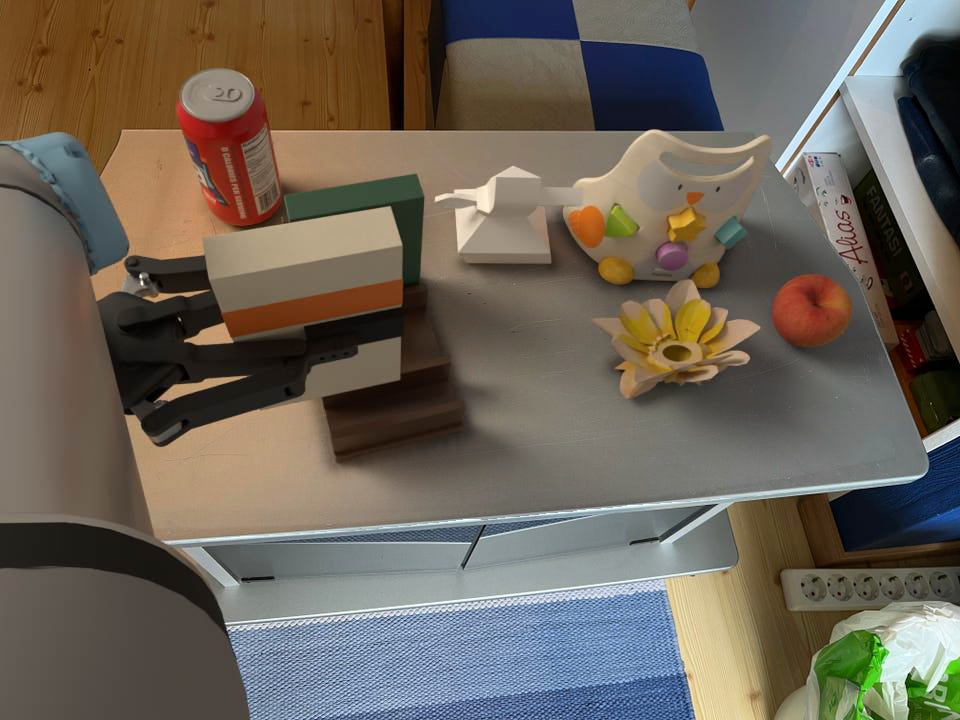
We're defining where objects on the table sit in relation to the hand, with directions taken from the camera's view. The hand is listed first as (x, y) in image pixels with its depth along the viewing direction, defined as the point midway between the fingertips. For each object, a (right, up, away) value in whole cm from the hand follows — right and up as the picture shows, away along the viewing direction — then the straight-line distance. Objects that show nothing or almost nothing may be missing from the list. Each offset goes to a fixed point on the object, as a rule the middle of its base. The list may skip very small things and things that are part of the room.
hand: (395, 299), depth 51 cm
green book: (-6, +2, +23) cm, 23 cm away
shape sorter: (+25, +8, +31) cm, 41 cm away
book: (-6, -6, +7) cm, 11 cm away
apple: (+39, -1, +28) cm, 48 cm away
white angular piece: (+8, +9, +29) cm, 32 cm away
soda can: (-19, +13, +28) cm, 37 cm away
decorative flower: (+25, -4, +25) cm, 35 cm away
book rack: (-4, -4, +21) cm, 22 cm away
